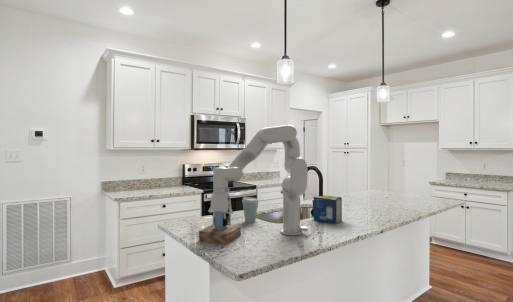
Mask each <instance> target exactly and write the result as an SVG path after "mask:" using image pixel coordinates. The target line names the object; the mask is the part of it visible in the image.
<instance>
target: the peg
mask: <svg viewBox="0 0 513 302" xmlns="http://www.w3.org/2000/svg"><path fill="white" fill-rule="evenodd" d="M223 219H224V216H223V212H220V211H215V230H219V231H224V230H226V226H225V227H223Z"/></svg>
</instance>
